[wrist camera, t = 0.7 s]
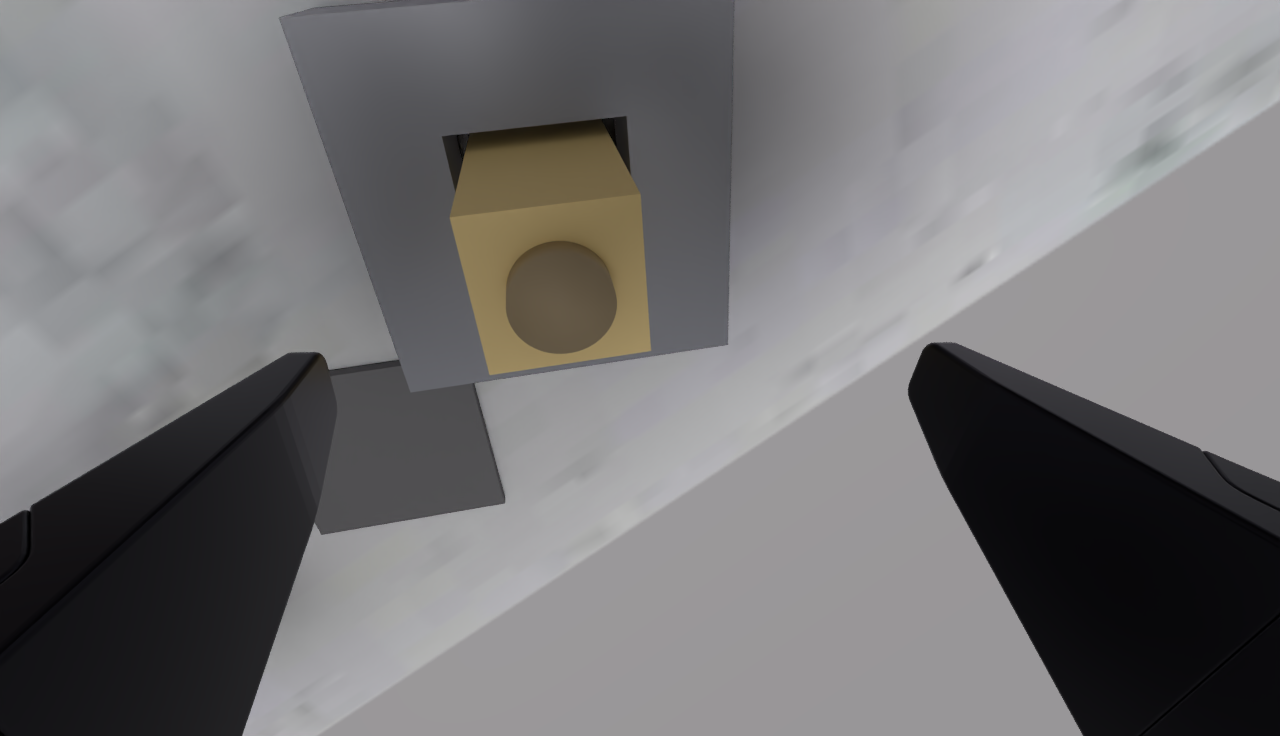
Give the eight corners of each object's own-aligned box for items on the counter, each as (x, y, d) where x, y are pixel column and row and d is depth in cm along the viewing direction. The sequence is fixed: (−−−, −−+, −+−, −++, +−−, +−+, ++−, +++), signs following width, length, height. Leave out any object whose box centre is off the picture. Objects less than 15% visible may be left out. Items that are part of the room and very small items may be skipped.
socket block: (421, 345, 23) (410, 392, 21) (313, 8, 17) (278, 17, 14) (706, 304, 24) (727, 344, 22) (704, -26, 18) (734, -23, 15)
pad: (323, 527, 27) (321, 534, 27) (245, 382, 23) (241, 389, 22) (504, 496, 28) (504, 503, 28) (464, 351, 23) (464, 356, 23)
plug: (496, 246, 21) (488, 394, 14) (471, 127, 19) (445, 231, 12) (609, 231, 22) (657, 368, 15) (598, 113, 20) (646, 206, 12)
